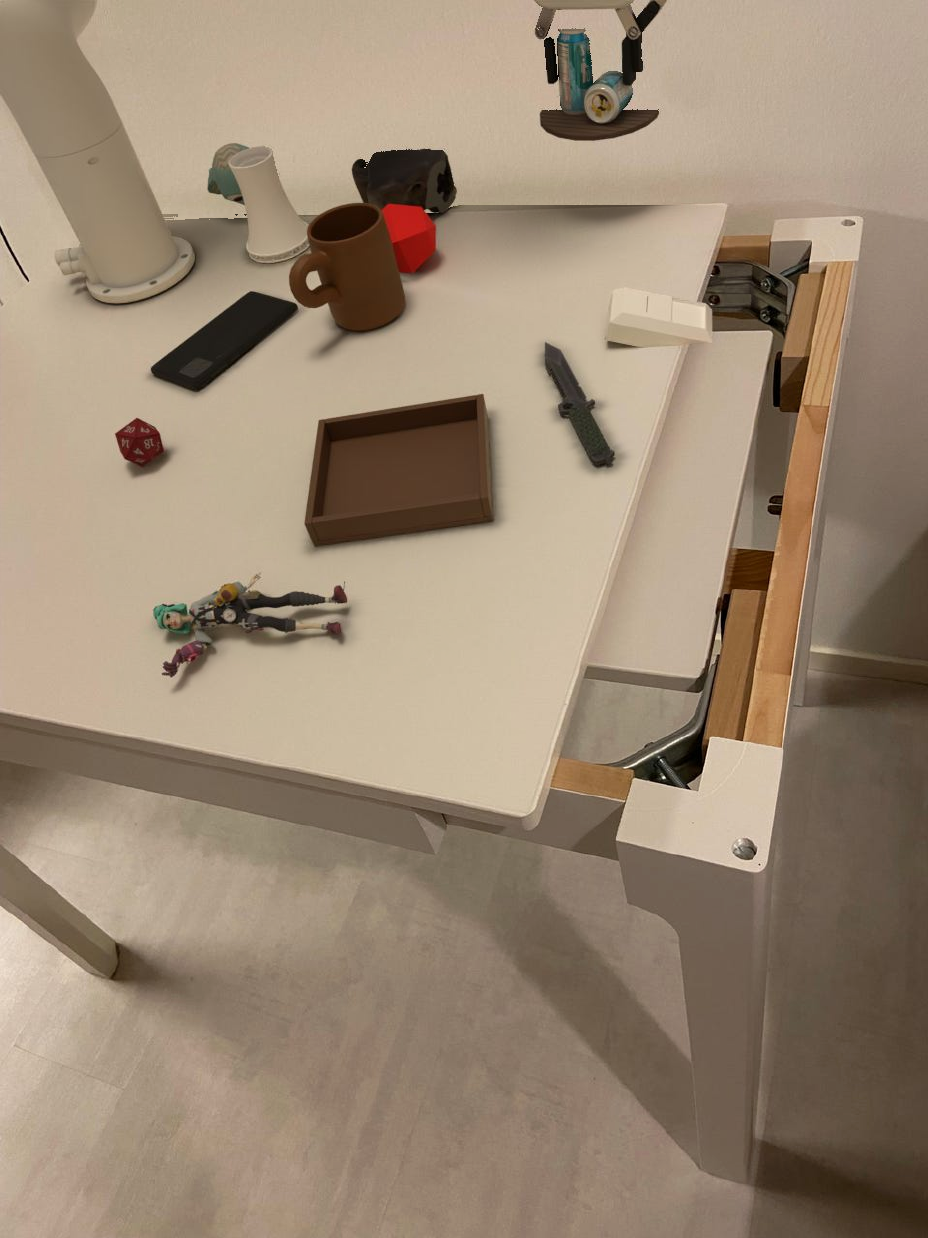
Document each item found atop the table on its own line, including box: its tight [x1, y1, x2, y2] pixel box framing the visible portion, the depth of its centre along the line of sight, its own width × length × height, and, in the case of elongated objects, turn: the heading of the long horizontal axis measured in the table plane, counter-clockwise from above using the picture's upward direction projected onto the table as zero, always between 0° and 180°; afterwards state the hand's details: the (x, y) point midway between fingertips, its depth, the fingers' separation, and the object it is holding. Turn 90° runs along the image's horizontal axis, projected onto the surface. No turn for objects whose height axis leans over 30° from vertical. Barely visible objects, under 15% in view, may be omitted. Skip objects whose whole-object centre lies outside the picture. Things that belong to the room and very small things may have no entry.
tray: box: [304, 393, 494, 547], centre depth 76 cm, size 14×13×2 cm
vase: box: [228, 145, 310, 264], centre depth 103 cm, size 8×8×10 cm
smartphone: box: [150, 290, 299, 391], centre depth 95 cm, size 7×1×15 cm
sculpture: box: [351, 148, 458, 214], centre depth 104 cm, size 21×6×12 cm
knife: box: [544, 341, 615, 466], centre depth 79 cm, size 18×1×3 cm
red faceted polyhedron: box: [382, 204, 437, 275], centre depth 97 cm, size 7×7×8 cm
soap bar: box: [604, 286, 713, 348], centre depth 83 cm, size 5×9×3 cm, turn 81°
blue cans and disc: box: [539, 28, 660, 142], centre depth 91 cm, size 12×12×8 cm
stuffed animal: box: [206, 142, 250, 206], centre depth 113 cm, size 11×7×12 cm
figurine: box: [152, 571, 348, 679], centre depth 68 cm, size 7×15×4 cm, turn 100°
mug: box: [288, 202, 406, 332], centre depth 90 cm, size 12×8×9 cm, turn 143°
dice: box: [114, 417, 165, 468], centre depth 83 cm, size 4×4×4 cm
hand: (593, 77), depth 91 cm, fingers closed on blue cans and disc, 7 cm apart
